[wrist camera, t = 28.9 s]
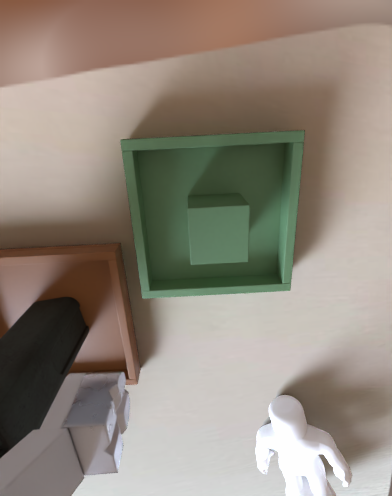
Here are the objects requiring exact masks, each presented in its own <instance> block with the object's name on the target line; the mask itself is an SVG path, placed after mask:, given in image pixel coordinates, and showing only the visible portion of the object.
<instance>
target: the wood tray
mask: <svg viewBox="0 0 392 496" xmlns="http://www.w3.org/2000/svg"><path fill="white" fill-rule="evenodd" d="M60 297H72V298H74V299H76V300H77V301H78V302H79V304H80V307H79V308H80V311H81V313H82V316H83V319H84V321H85V324H86V326H88V327H89V333H88V335H87V337H86V339H85V341H84V343H83V345H82V347H81V349H80V351H79V353H78V355H77V357H76V359H75V360H74V362H73V364H72V366H71V368H70V370H69V372H68V374H67V376H68V375H69V374H70V373H88V372H117V371H122V372H124V374H125V378H126V383H125V385H134V384H138V379H139V374H140V370H141V369H140V363H139V357H138V351H137V344H136V338H135V332H134V326H133V319H132V313H131V307H130V301H129V295H128V288H127V282H126V276H125V270H124V263H123V257H122V251H121V245H120V243H113V244H94V245H75V246H56V247H37V248H18V249H0V338H1V337H2V336H3V335H4V334H5V333H6V332H7V331H8V330H9V329H10V328H11V327H12V325H13V324H14V323H15V322H16V321H17V320H18V319H19V318H20V317H21V316H22V315H23V314H24V313H25V311H26V310H27V309H28V308H29V307H30V306H31V305H32V304H33V303H35V302H37V301H42V300H48V299H54V298H60ZM67 376H66V377H67Z"/></svg>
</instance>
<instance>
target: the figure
mask: <svg viewBox="0 0 392 496" xmlns="http://www.w3.org/2000/svg"><path fill="white" fill-rule="evenodd" d="M269 415H270V419H271V422H272V423H270V424H267V425H264V426H261V428H260V429H259V430H258V433H257V445H256V457H257V463H258V468H259V469H260V471H261V472H262V473H263V474H267V470H268V466H269V463H270V461H269V460H270V457H271V455H275V453H274V452H273V450H271V449H269V448H272V449H274V450H276V451H278V453H279V466H280V469H282V471H283V475H284V477H285V480H286V485H287V486H286V496H336V494H335V492H334V490H333V489H332V487H331V485H330V484H329V482H328V480H327V479H326V473H325V467H324V464H323V462H322V460H321V458H320V457H319V455H318V454H323V455H324V456H325V457H326V459H327V460H328V462H329V463H330V465H331V466H333V467H334V468H333V471H334V473H335V475H336V476H337V477H338V478H339V479H341V480H342V481H343V486H344V487H348V486H349V484H350V483H351V478H352V473H351V471H350V467H349V465H348V464H347V463H346V461H345V459H344V457H343V455H342V454H341V452H340V451H339V450H338V449H337V447H336V445H335V442H334V440H333V438H332V436H331V435H330V434H329V433H328V432H326V431H323V430H321V429H319V428H317V427H314V426H312V425H308V424H307V421H306V417H305V413H304V409H303V407H302V405H301V403H300V402H299V401H298V400H297V399H296V398H294V397H292V396H289V395H281V396H278V397H276V398H275V399H273V401H272V402H271V404H270V406H269Z"/></svg>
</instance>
